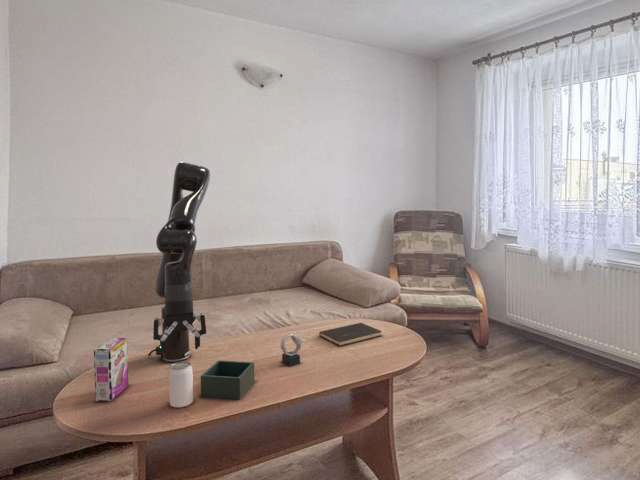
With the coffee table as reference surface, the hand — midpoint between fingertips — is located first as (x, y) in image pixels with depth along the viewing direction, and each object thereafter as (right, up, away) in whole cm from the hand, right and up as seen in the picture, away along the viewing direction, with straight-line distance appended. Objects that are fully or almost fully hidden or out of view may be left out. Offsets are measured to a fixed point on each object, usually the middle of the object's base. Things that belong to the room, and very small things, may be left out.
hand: (180, 350), depth 130 cm
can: (-1, -17, +2) cm, 17 cm away
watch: (+26, -13, +35) cm, 45 cm away
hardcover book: (+47, -10, +66) cm, 81 cm away
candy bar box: (-24, -15, +7) cm, 30 cm away
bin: (+10, -16, +12) cm, 22 cm away
